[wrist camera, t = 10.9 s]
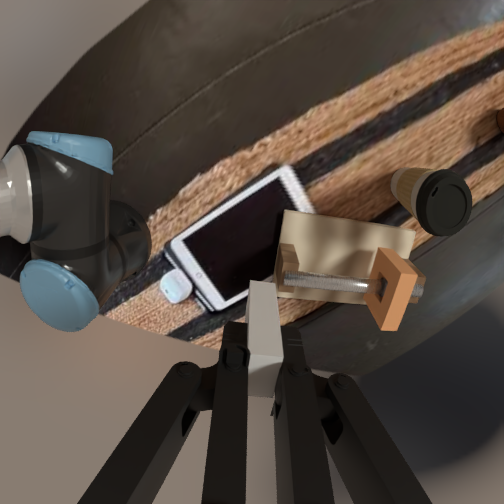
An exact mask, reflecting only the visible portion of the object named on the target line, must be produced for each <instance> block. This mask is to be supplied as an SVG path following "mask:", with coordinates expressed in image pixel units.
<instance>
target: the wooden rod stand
mask: <svg viewBox="0 0 504 504" xmlns="http://www.w3.org/2000/svg"><path fill="white" fill-rule="evenodd" d="M415 234H416V231H414V230H412V229H406V228H401V227H395V226H389V225H383V224H377V223H371V222H365V221H359V220H352V219H346V218H339V217H333V216H326V215H319V214H312V213H305V212H298V211H290V210H284V214H283V220H282V227H281V233H280V239H279V245H278V251H277V257H276V263H275V269H274V275H273V281H272V283H275V285H276V294H277V297H285V298H295V299H306V300H317V301H328V302H340V303H353V304H366V302H365V300H364V299H363V296H364V293H356V292H345V291H334V290H324V289H313V288H303V287H293V286H284V285H283V281H284V276H285V270H287V271H296V272H298V271H303V272H312V273H321V274H331V275H340V276H350V277H359V278H369V277H370V274H371V270H372V267H373V263H374V260H375V256H376V253H377V249H378V247H382V248H389V249H393V250H394V251H395V252H396V253H397V254H398V255H399V256H400V257H401V258H402V259H403V260H404V261H405V262H406V263H407V264H408V265H409V266H410V267H411V268H412V269H413V270H414V271H415V272H416V274H417V275H418V276H417V279H416V282H415V284H422V286H424V283H425V280H426V277H425V276H424V275H423V274H422V273H421V272H420V271H419V270H418V269H417V268H416V267H415V266H414V265H413V264H412V263H411V261H410V260H409V259H408V258H409V254H410V251H411V248H412V244H413V241H414V237H415ZM418 299H419V297H410V299H409V301H408V303H417V302H418ZM366 305H367V304H366Z"/></svg>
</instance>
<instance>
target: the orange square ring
mask: <svg viewBox="0 0 504 504" xmlns="http://www.w3.org/2000/svg"><path fill="white" fill-rule="evenodd" d="M417 276H418V275H417V274H416V272H415V271H414V270H413V269H412V268H411V267H410V266H409V265H408V264H407V263H406V262H405V261H404V260H403V259H402V258H401V257H400V256H399V255H398V254H397V253H396V252H395V251H394V250H393V249H389V248H382V247H378V249H377V253H376V256H375V260H374V263H373V267H372V270H371V274H370V277H369V279H379V280H380V279H381V278H382V277H384V278H386V280H387V281H388V284H387V287H386V290H385V293H384V296H383V297H380V296H379V295H378V294H368V293H364V296H363V299H364V300H365V302H366V304H367V306H368V308H369V309H370V311H371V313H372V315H373V317H374V319H375V320H376V322H377V324H378V326H379V328H380V330H389V331H397V329H398V326H399V324H400V322H401V319H402V317H403V314H404V312H405V309H406V307H407V304H408V301H409V299H410V296H411V293H412V291H413V288H414V285H415V282H416V279H417Z"/></svg>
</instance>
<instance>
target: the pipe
mask: <svg viewBox="0 0 504 504" xmlns="http://www.w3.org/2000/svg"><path fill="white" fill-rule="evenodd" d="M387 284H388V281H387V280H386V278H384V277H382V278H381V279H380V280H379V279H369V278H359V277H350V276H340V275H331V274H321V273H312V272H303V271H298V272H296V271H287V270H285V276H284V281H283V285H284V286H293V287H303V288H313V289H324V290H334V291H345V292H356V293H368V294H378V295H379V296H380V297H383V296H384V293H385V290H386V287H387ZM422 293H423V286H422V284H415V285H414V288H413V291H412V293H411V296H410V297H421V296H422Z"/></svg>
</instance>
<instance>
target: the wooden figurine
mask: <svg viewBox="0 0 504 504" xmlns="http://www.w3.org/2000/svg"><path fill="white" fill-rule="evenodd" d="M497 122H498V125H499V128H500V129H501V131H502V132H503V133H504V108H503V109H501V110H500V111H499V112H498V114H497Z"/></svg>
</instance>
